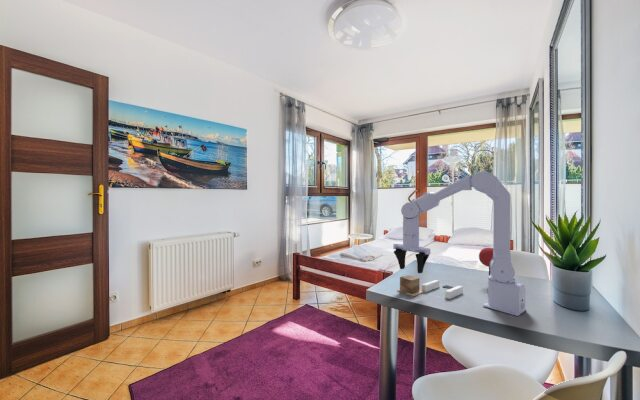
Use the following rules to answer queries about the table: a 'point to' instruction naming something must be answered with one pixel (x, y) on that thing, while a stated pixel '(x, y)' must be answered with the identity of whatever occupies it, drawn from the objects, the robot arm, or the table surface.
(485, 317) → the table surface
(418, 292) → the pad
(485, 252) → the lollipop
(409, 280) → the block
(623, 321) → the table surface
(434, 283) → the channel
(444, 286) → the trap pad
